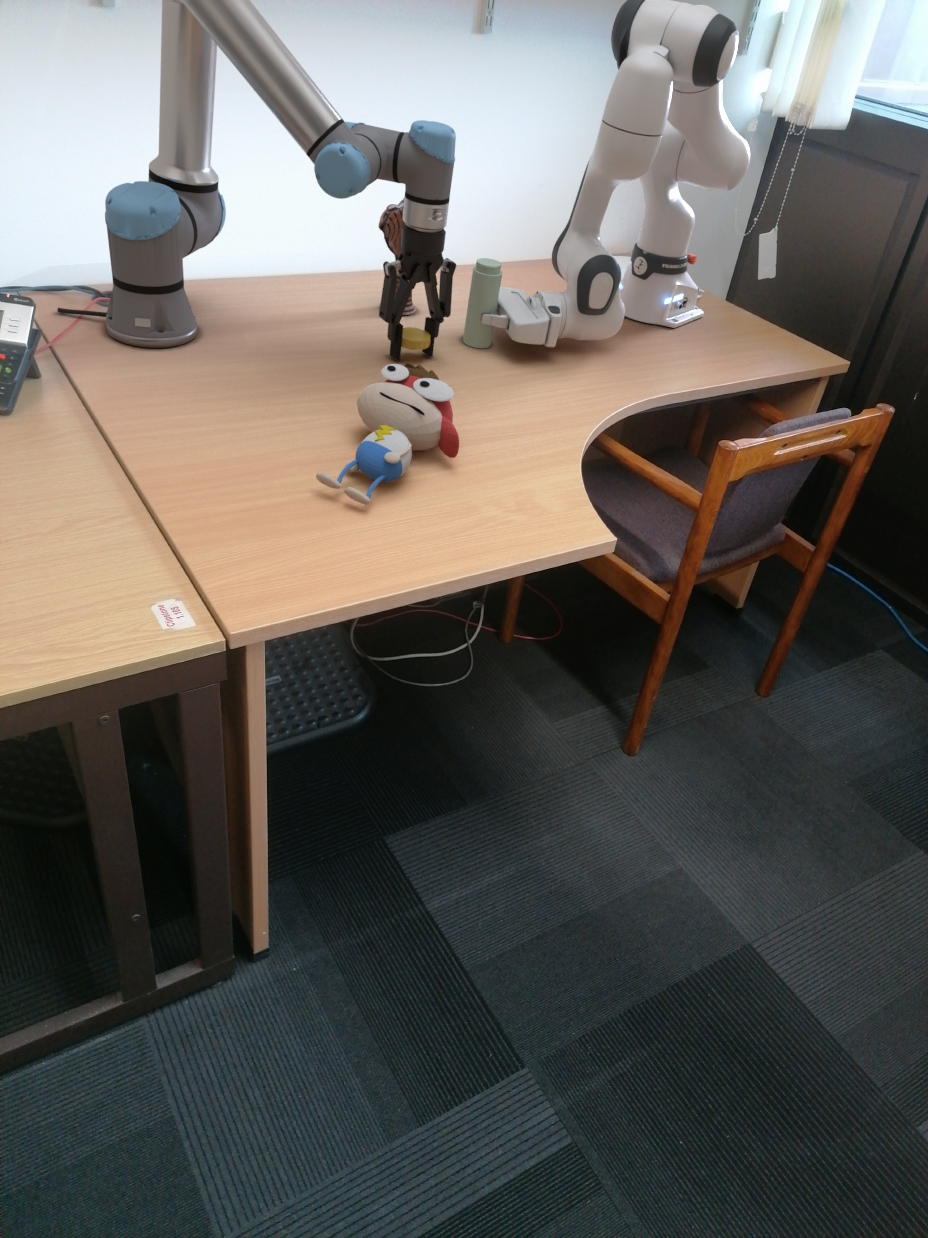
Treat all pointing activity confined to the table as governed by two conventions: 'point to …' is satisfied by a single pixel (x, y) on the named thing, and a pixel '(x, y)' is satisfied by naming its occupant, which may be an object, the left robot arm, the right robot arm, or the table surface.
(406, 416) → the toy
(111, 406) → the table surface
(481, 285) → the jar
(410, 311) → the figurine
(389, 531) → the table surface
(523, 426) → the table surface
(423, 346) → the lid
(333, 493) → the table surface
